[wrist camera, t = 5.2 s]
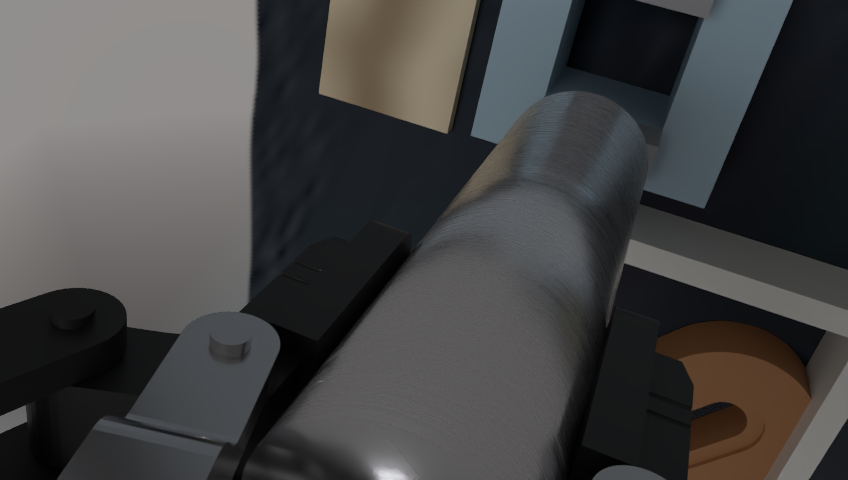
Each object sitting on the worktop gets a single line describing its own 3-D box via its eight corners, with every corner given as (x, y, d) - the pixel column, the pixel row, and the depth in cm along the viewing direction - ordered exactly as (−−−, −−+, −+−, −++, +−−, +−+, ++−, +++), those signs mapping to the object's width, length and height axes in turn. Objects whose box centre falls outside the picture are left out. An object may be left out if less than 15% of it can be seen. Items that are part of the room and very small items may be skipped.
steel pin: (669, 116, 18) (580, 502, 7) (621, 243, 20) (493, 706, 9) (525, 73, 19) (251, 369, 8) (491, 200, 21) (230, 582, 10)
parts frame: (886, 282, 35) (904, 328, 32) (691, 609, 47) (689, 667, 44) (578, 184, 38) (564, 217, 34) (470, 516, 50) (452, 565, 47)
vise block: (800, -63, 30) (819, -41, 24) (706, 165, 35) (703, 229, 29) (555, -121, 32) (518, -115, 26) (499, 102, 37) (457, 150, 31)
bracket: (547, 518, 48) (526, 613, 42) (468, 419, 46) (434, 503, 40) (842, 422, 39) (868, 525, 33) (757, 294, 37) (767, 379, 31)
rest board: (493, -59, 34) (489, -57, 33) (452, 128, 39) (447, 133, 38) (349, -96, 35) (342, -95, 35) (325, 89, 40) (318, 93, 39)
